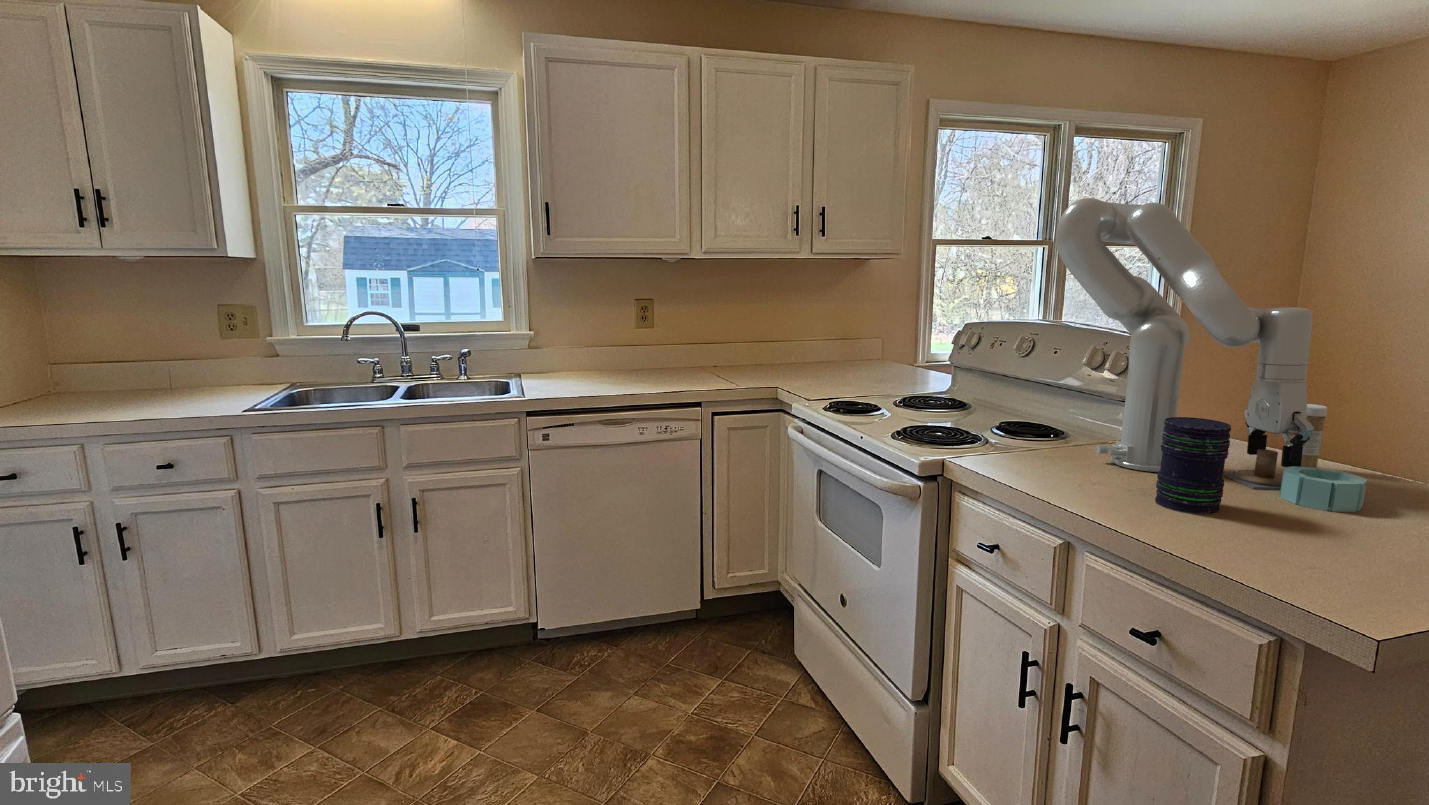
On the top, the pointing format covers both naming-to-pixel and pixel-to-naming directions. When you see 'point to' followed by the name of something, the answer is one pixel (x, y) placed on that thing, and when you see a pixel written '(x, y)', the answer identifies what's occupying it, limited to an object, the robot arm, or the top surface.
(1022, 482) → the top surface
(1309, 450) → the sprinkles bottle
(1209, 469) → the storage jar
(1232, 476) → the mat
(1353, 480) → the bowl
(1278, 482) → the lid
